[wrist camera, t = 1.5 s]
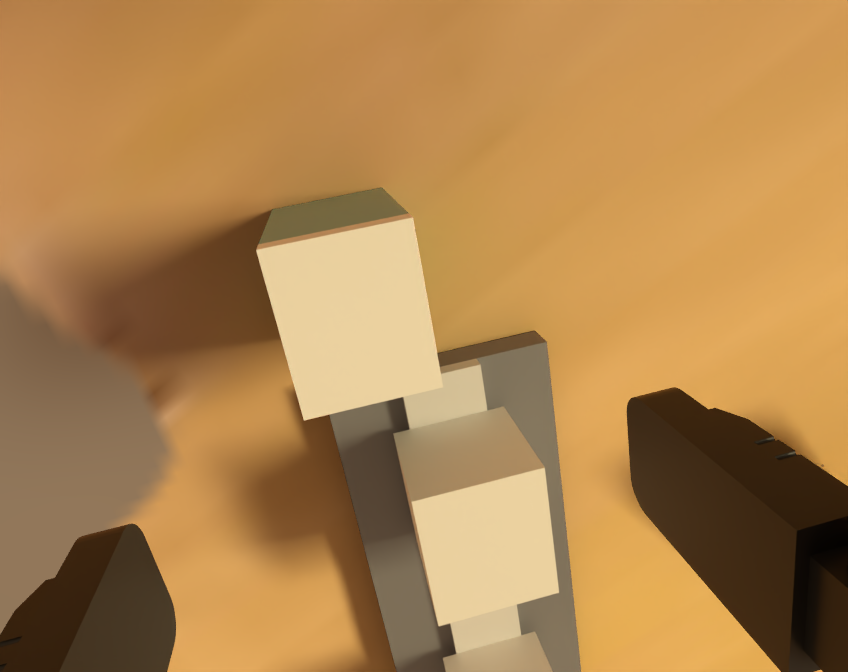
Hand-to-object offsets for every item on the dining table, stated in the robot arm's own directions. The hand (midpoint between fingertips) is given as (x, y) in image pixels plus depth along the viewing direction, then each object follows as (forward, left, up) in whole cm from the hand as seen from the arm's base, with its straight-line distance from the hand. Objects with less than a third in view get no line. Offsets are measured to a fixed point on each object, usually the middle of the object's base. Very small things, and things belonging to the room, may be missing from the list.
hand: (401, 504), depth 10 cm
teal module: (0, 0, -17) cm, 17 cm away
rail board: (+16, +3, -17) cm, 23 cm away
